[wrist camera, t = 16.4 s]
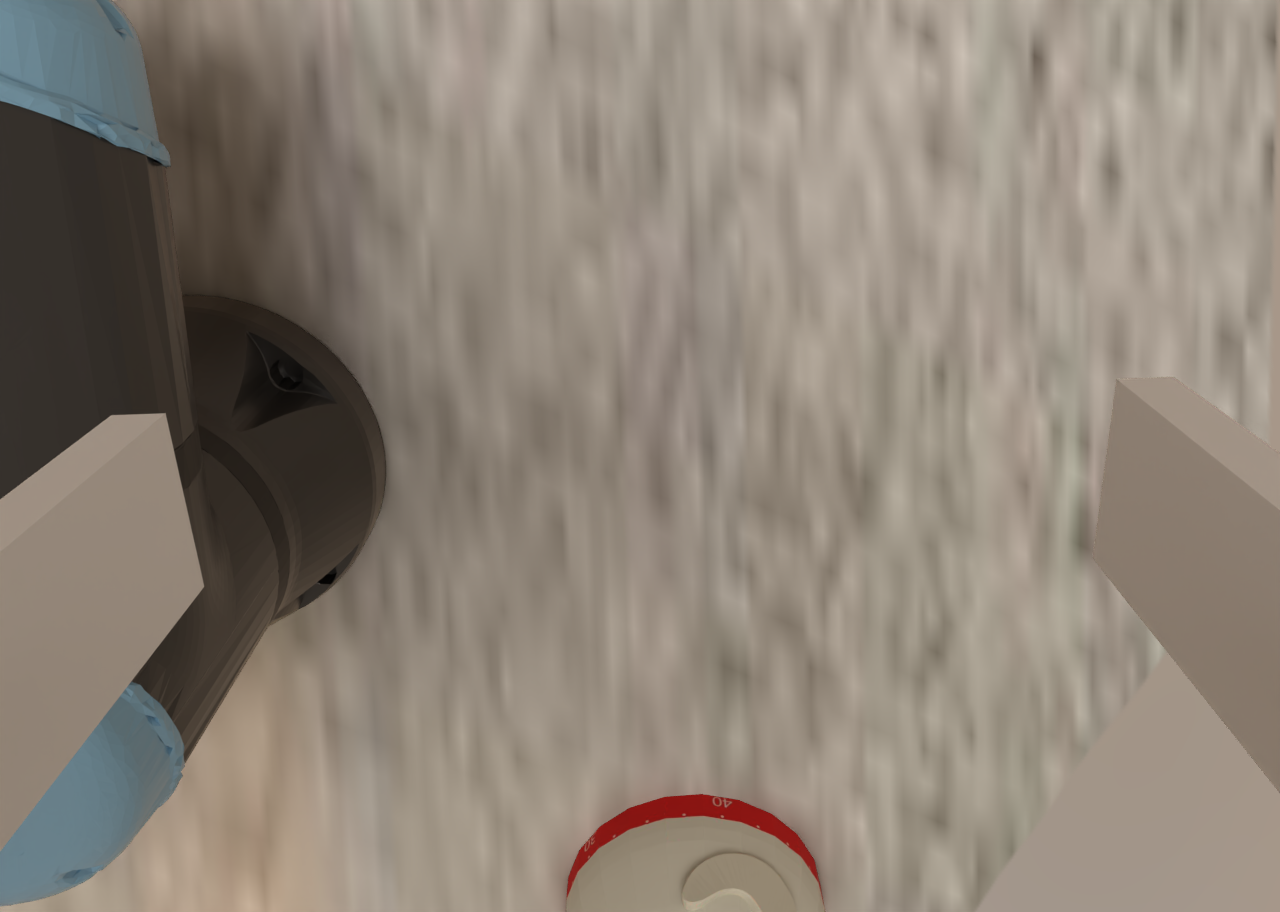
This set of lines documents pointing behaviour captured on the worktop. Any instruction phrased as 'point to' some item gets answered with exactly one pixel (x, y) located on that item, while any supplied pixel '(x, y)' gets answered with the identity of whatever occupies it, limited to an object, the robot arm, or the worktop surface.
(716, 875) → the kitchen timer
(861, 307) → the worktop surface
